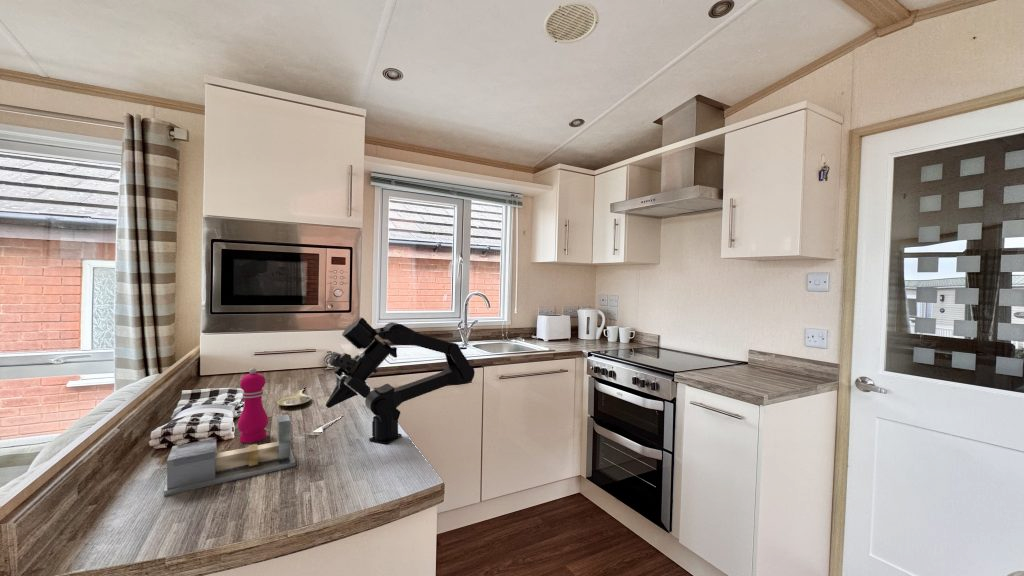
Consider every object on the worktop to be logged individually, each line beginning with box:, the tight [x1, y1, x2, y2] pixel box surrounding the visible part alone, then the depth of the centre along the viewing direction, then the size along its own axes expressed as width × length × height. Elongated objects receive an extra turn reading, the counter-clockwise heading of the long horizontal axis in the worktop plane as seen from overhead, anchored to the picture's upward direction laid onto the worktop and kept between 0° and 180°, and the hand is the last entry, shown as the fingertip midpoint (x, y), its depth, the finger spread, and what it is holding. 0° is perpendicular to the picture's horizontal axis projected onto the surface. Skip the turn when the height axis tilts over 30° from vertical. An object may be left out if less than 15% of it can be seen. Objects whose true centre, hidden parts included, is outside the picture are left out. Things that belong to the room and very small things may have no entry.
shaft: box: [215, 414, 291, 471], centre depth 96 cm, size 15×5×9 cm, turn 124°
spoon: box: [277, 389, 312, 407], centre depth 155 cm, size 35×11×2 cm, turn 21°
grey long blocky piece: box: [163, 438, 297, 497], centre depth 94 cm, size 24×10×7 cm, turn 124°
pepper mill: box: [237, 367, 269, 444], centre depth 113 cm, size 7×7×20 cm
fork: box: [303, 416, 342, 436], centre depth 124 cm, size 3×20×2 cm, turn 174°
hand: (327, 406), depth 105 cm, fingers closed
